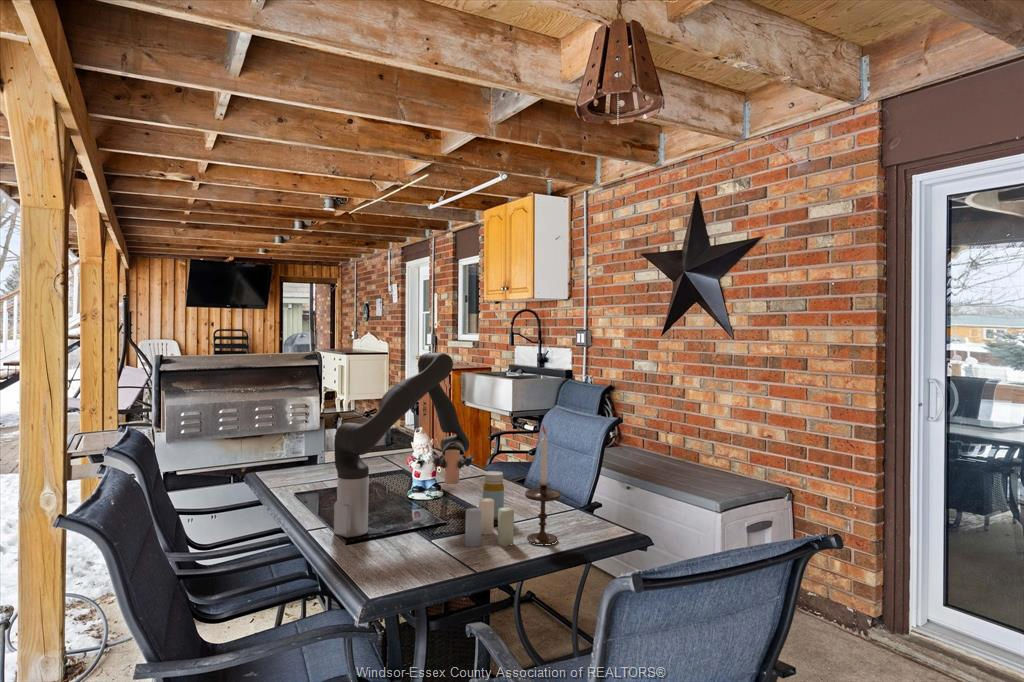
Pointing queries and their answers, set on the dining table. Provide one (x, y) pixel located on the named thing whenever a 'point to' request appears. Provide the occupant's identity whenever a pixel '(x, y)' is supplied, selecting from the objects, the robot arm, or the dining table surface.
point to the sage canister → (505, 526)
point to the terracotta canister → (452, 466)
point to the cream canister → (487, 515)
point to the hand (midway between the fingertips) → (452, 465)
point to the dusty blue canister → (473, 527)
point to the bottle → (494, 489)
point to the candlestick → (543, 498)
